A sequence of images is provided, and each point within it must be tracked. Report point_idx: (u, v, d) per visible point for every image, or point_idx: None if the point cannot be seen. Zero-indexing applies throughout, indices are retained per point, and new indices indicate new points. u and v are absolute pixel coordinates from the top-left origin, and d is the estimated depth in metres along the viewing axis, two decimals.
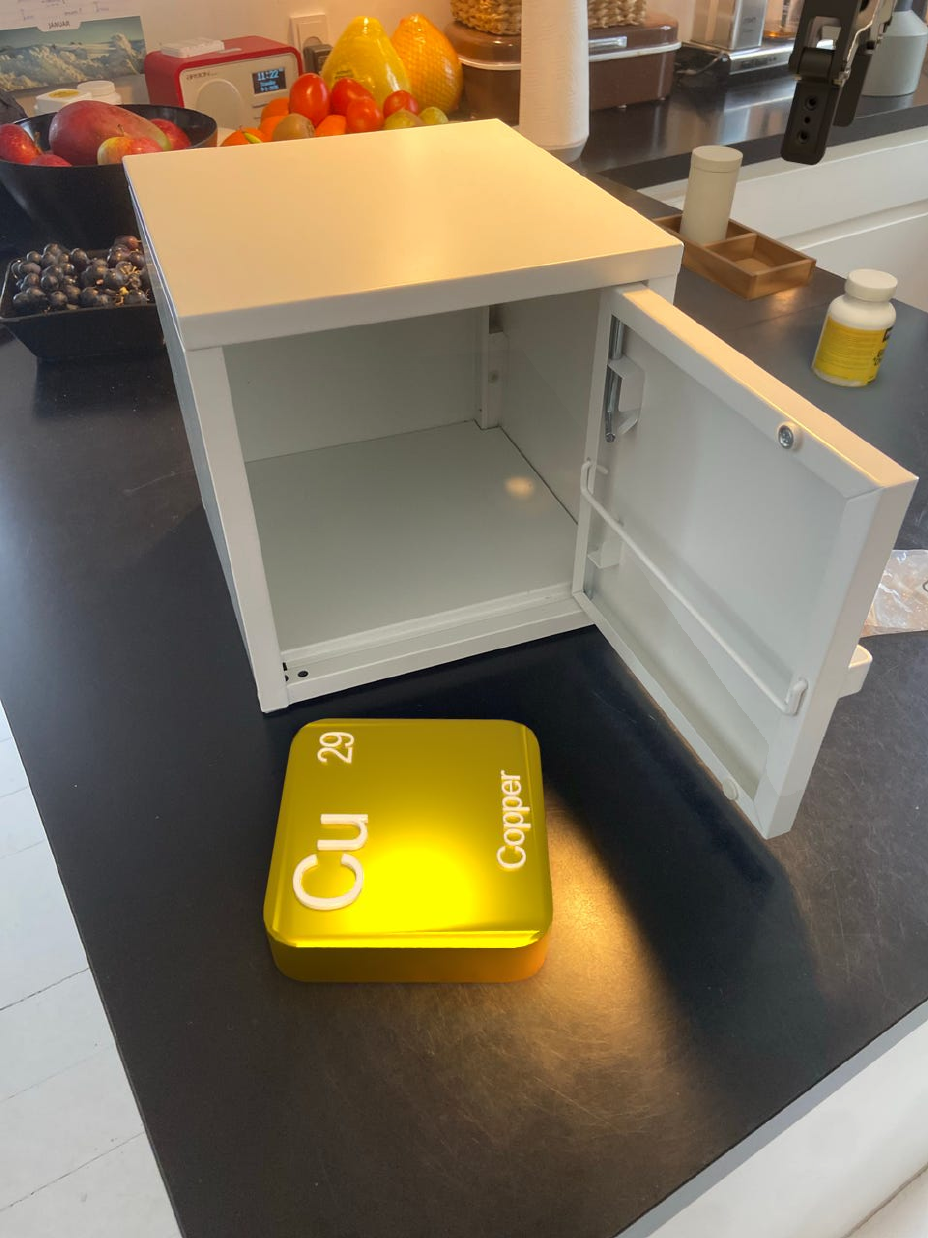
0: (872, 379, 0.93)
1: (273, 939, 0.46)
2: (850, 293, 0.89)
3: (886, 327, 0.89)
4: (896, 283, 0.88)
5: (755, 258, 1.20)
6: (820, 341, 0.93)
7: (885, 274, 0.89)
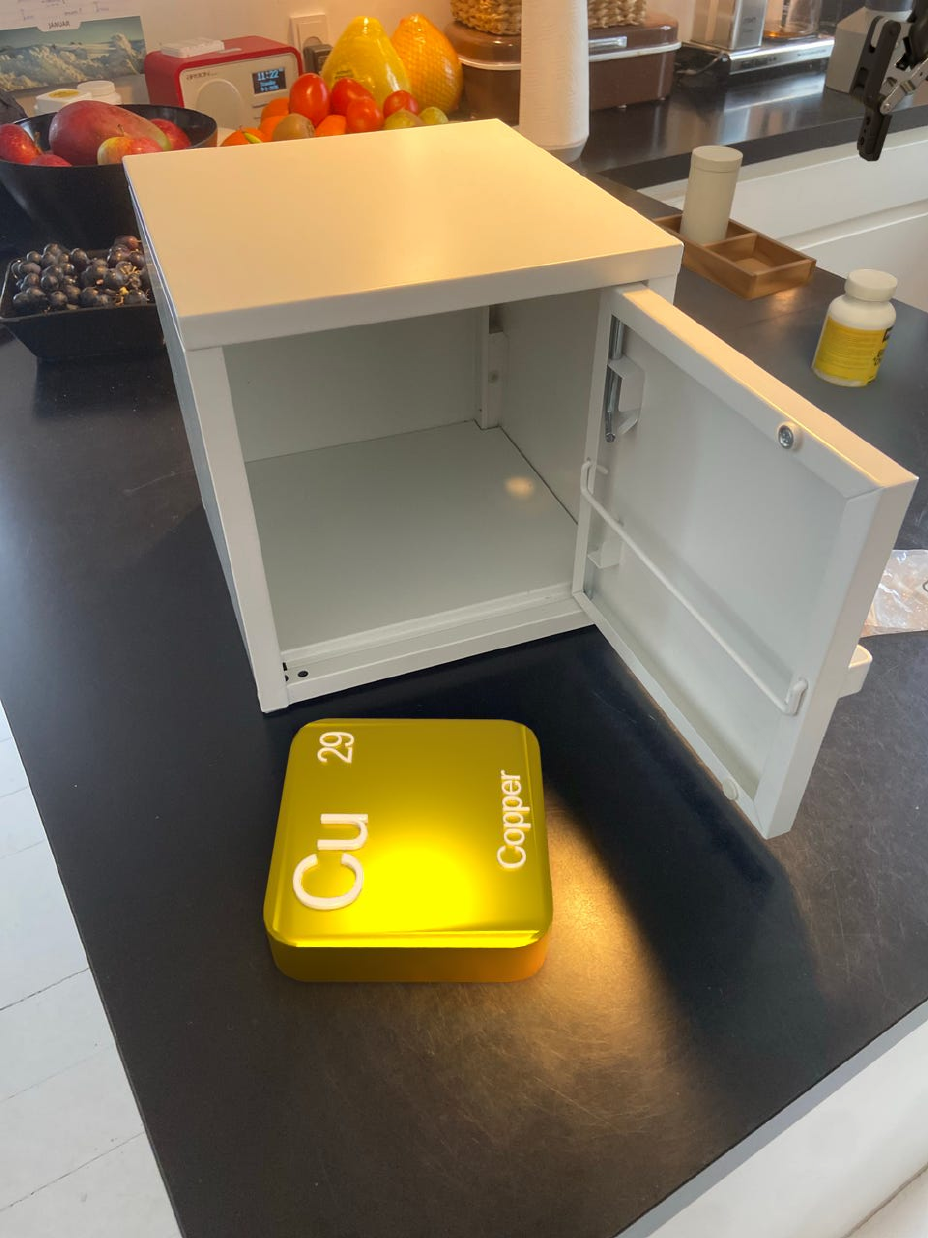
0: (872, 379, 0.93)
1: (273, 939, 0.46)
2: (850, 293, 0.89)
3: (886, 327, 0.89)
4: (896, 283, 0.88)
5: (755, 258, 1.20)
6: (820, 341, 0.93)
7: (885, 274, 0.89)
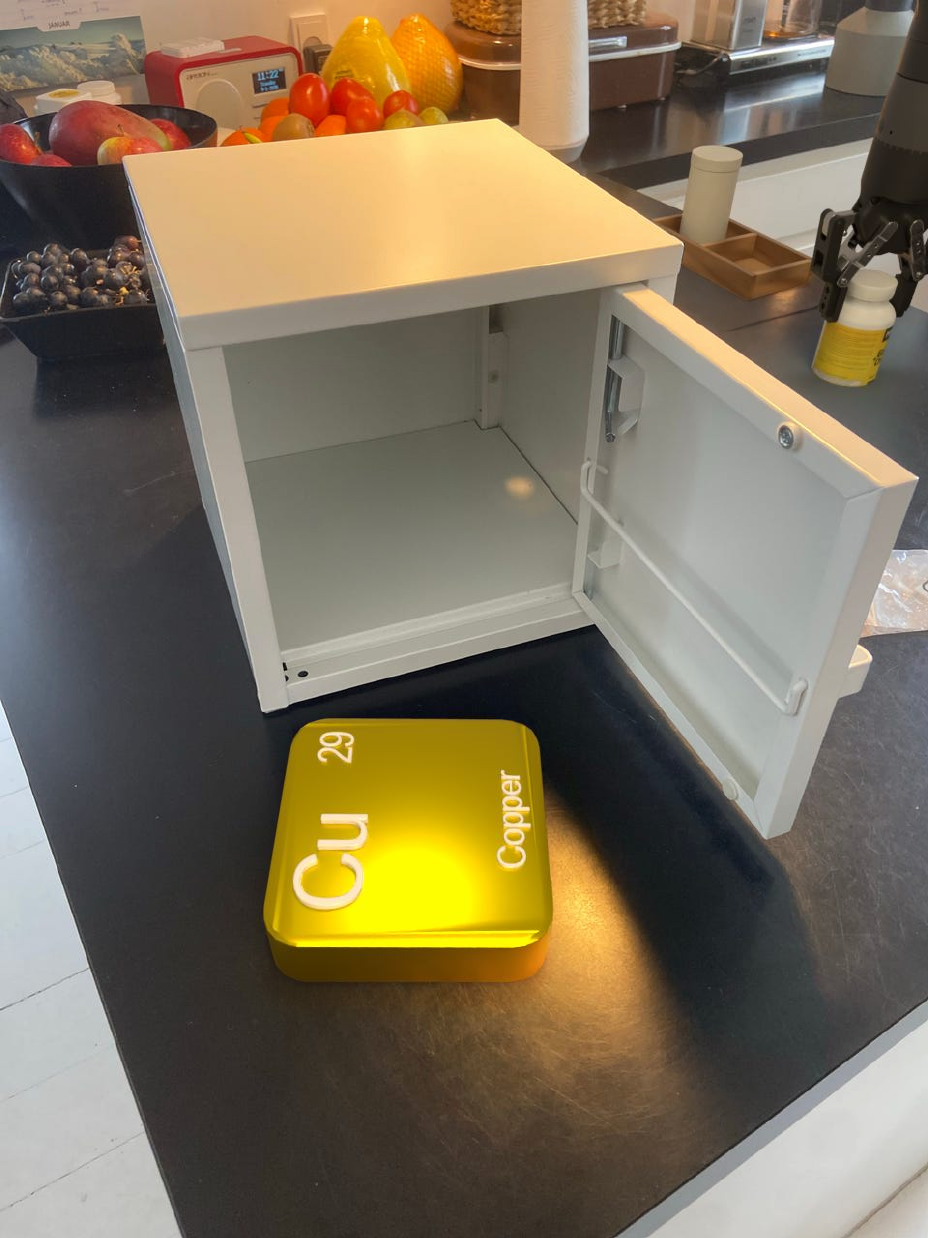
0: (872, 379, 0.93)
1: (273, 939, 0.46)
2: (850, 293, 0.89)
3: (886, 327, 0.89)
4: (896, 283, 0.88)
5: (755, 258, 1.20)
6: (820, 341, 0.93)
7: (885, 274, 0.89)
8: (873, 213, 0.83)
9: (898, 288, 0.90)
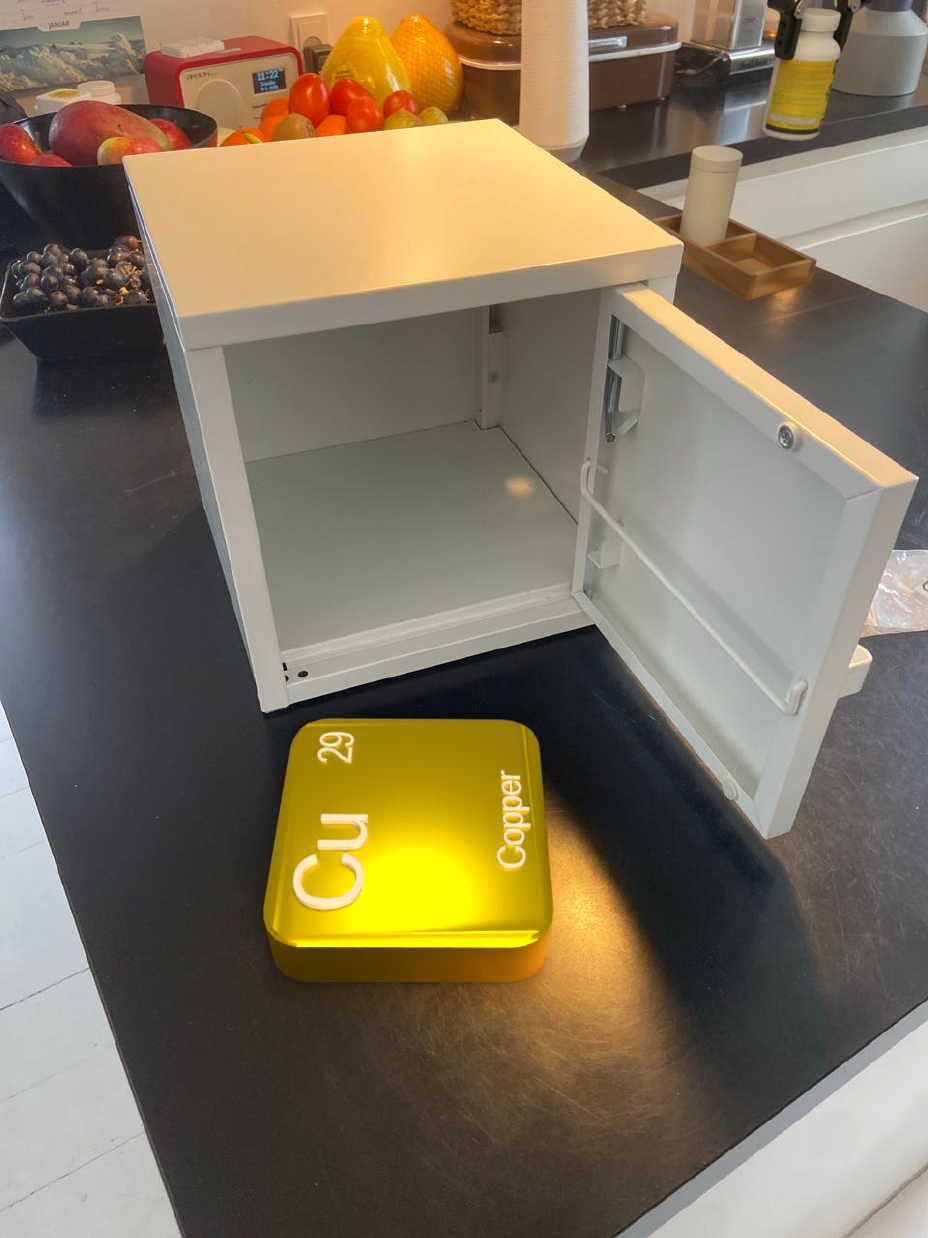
0: (823, 117, 1.00)
1: (273, 939, 0.46)
2: (801, 27, 0.95)
3: (836, 58, 0.96)
4: (839, 13, 0.95)
5: (755, 258, 1.20)
6: (774, 85, 0.99)
7: (825, 9, 0.96)
8: None
9: None
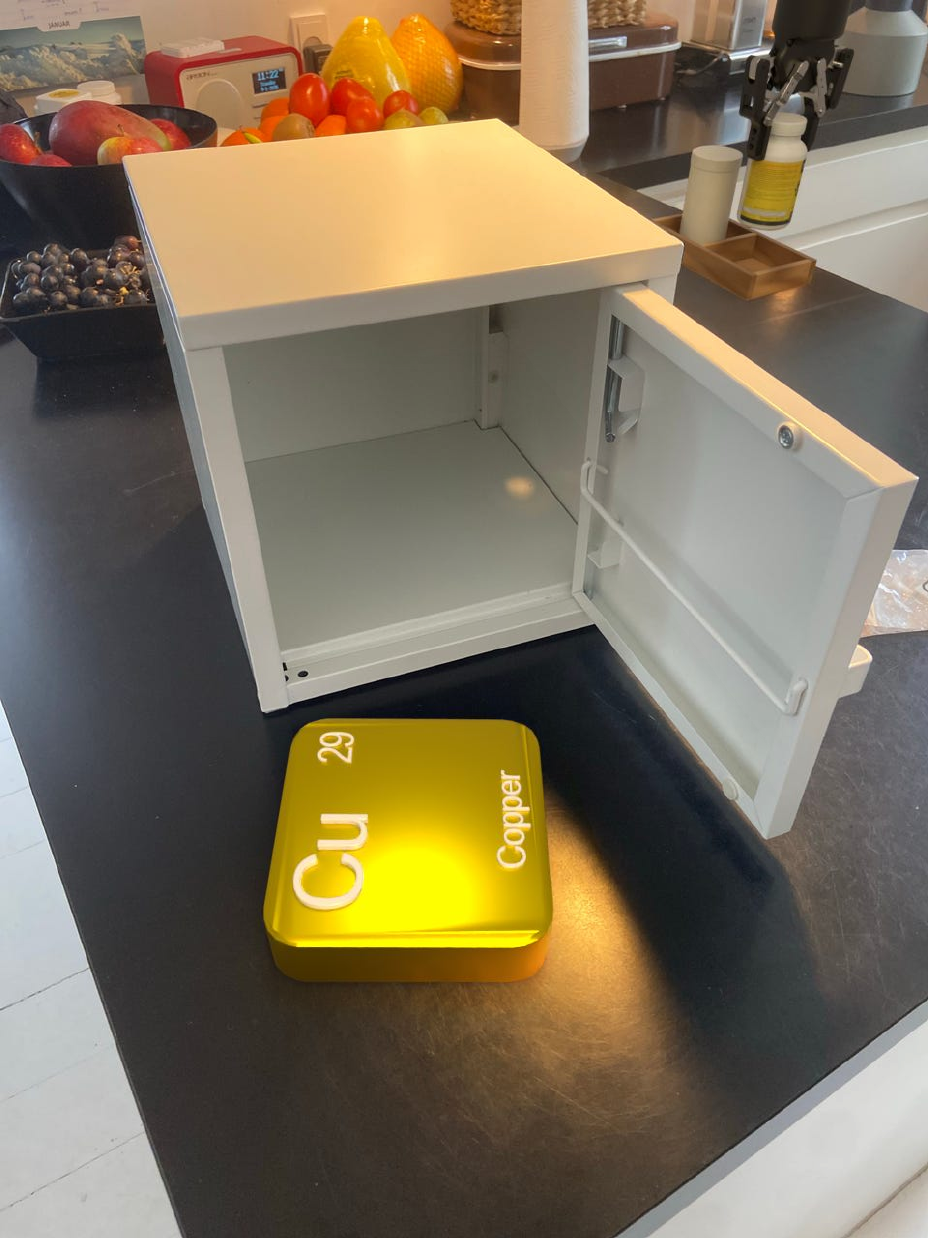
0: (793, 209, 1.09)
1: (273, 939, 0.46)
2: (771, 132, 1.03)
3: (803, 158, 1.04)
4: (806, 119, 1.03)
5: (755, 258, 1.20)
6: (747, 181, 1.07)
7: (793, 114, 1.04)
8: (789, 54, 0.97)
9: None
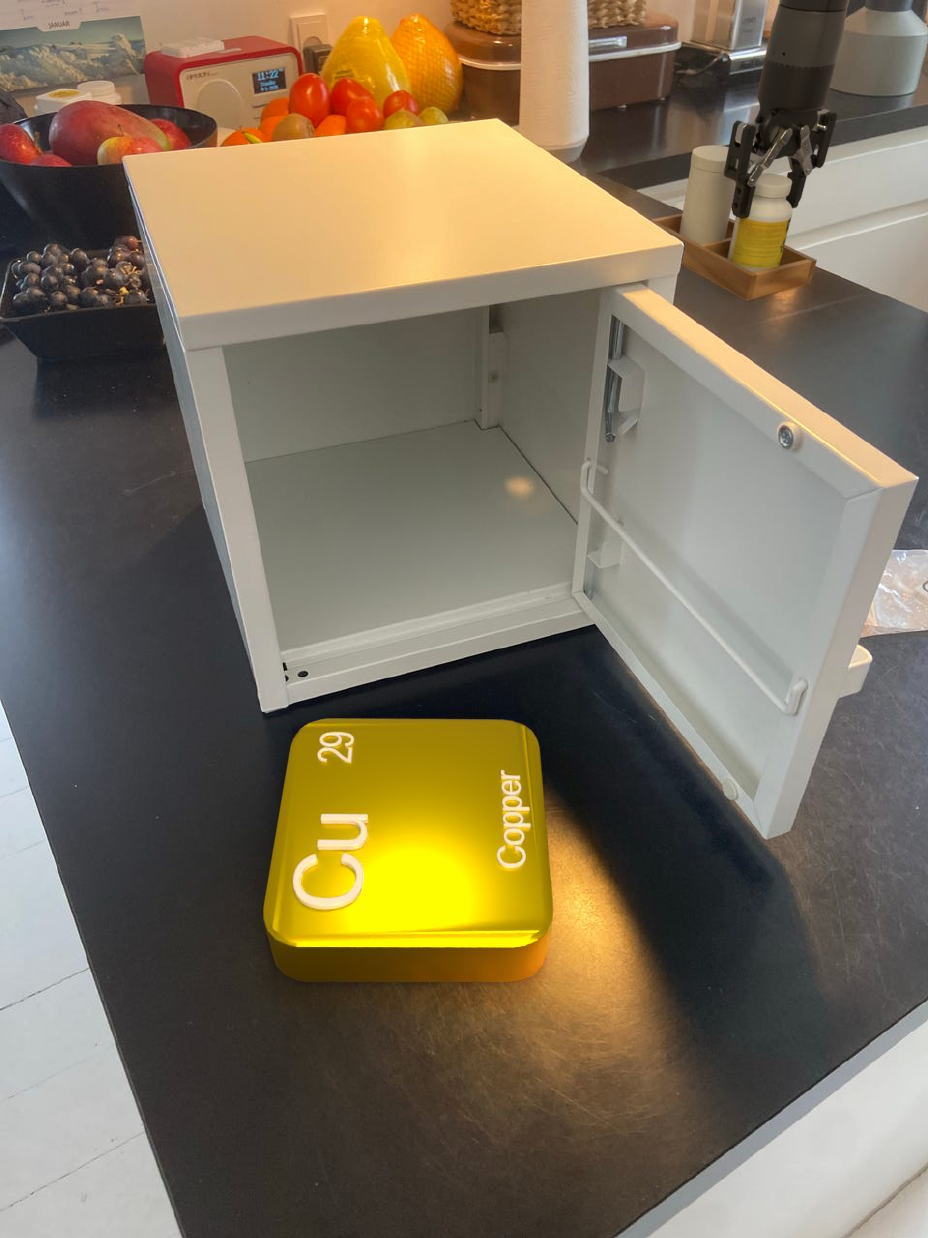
0: None
1: (273, 939, 0.46)
2: (757, 193, 1.08)
3: (788, 218, 1.09)
4: (791, 181, 1.08)
5: None
6: (735, 238, 1.12)
7: (778, 175, 1.09)
8: (773, 123, 1.02)
9: None
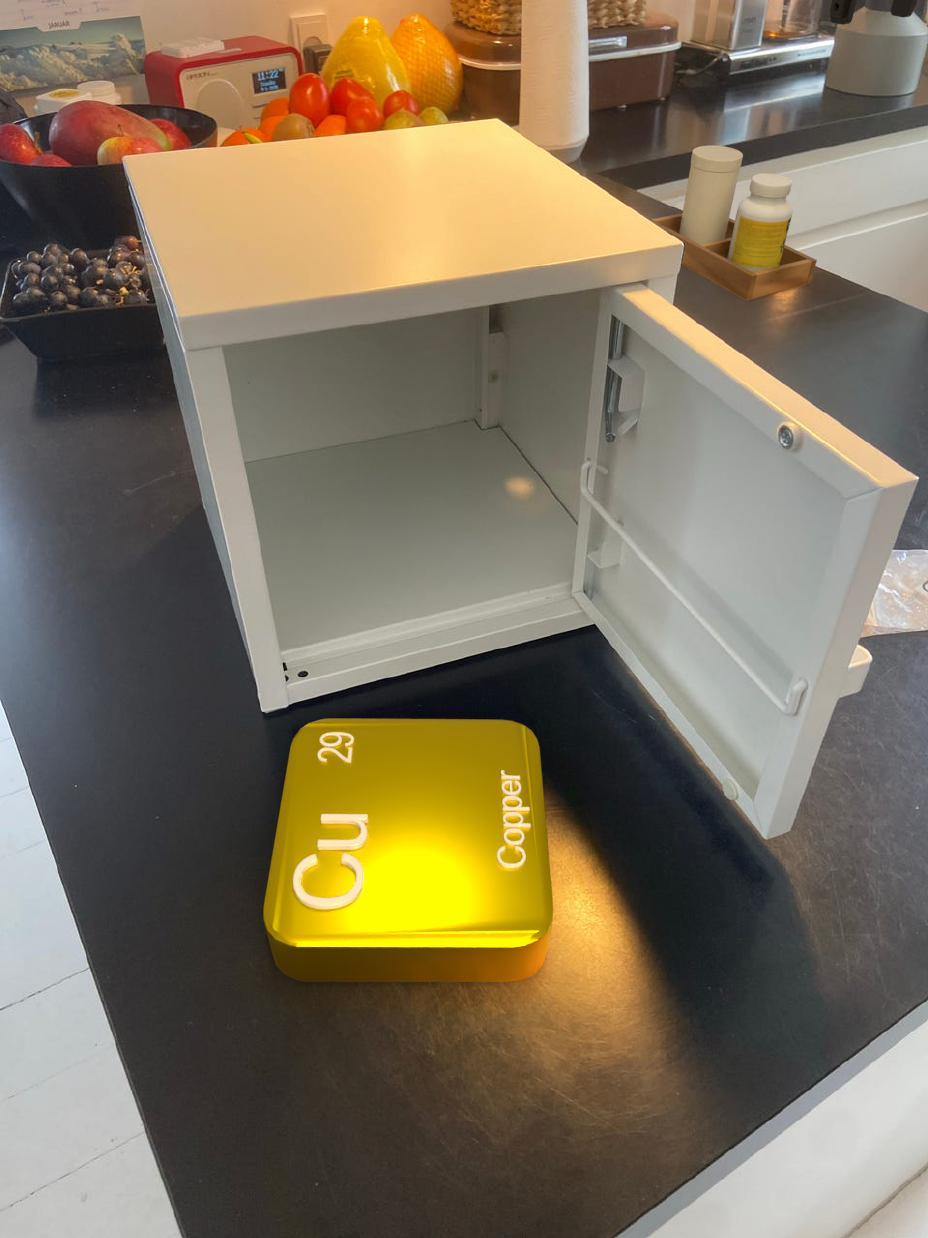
0: None
1: (273, 939, 0.46)
2: (757, 193, 1.08)
3: (788, 218, 1.09)
4: (791, 181, 1.08)
5: None
6: (735, 238, 1.12)
7: (778, 175, 1.09)
8: None
9: None
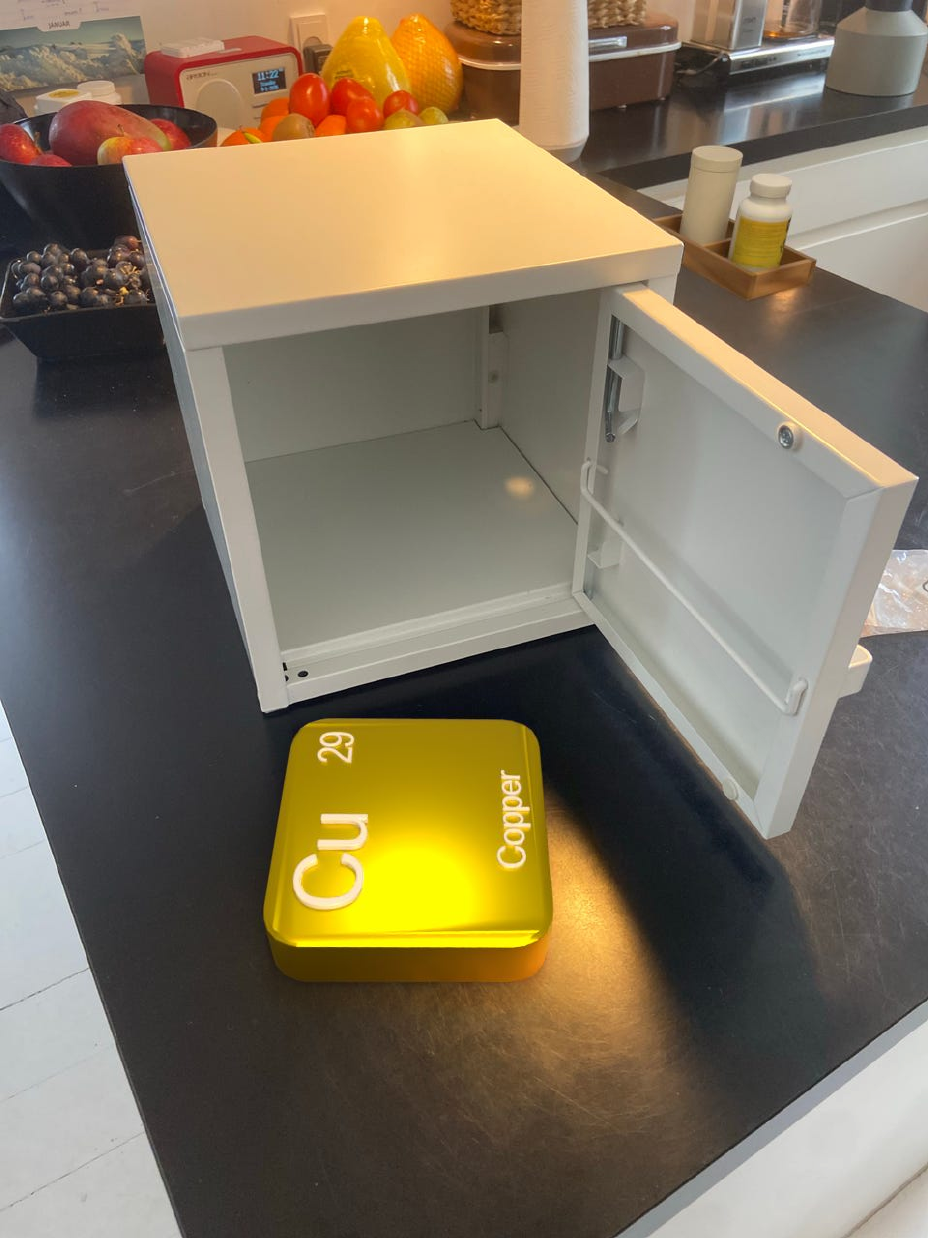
0: None
1: (273, 939, 0.46)
2: (757, 193, 1.08)
3: (788, 218, 1.09)
4: (791, 181, 1.08)
5: None
6: (735, 238, 1.12)
7: (778, 176, 1.09)
8: None
9: None
